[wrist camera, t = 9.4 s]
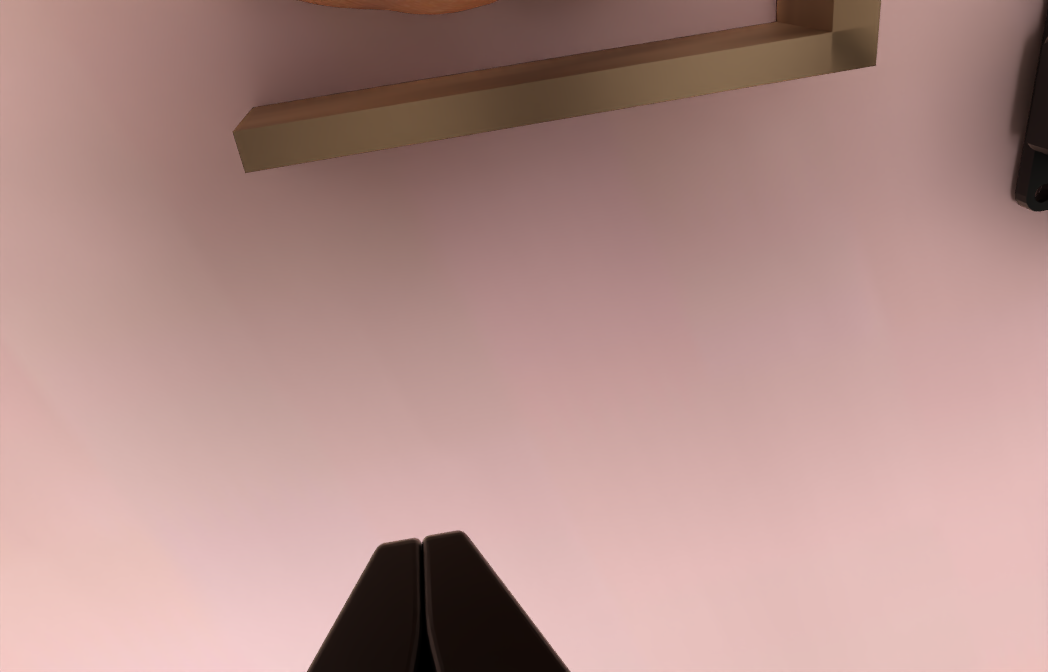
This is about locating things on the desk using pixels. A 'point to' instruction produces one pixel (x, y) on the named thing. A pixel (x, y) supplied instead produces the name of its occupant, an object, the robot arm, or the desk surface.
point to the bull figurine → (406, 5)
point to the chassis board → (564, 86)
